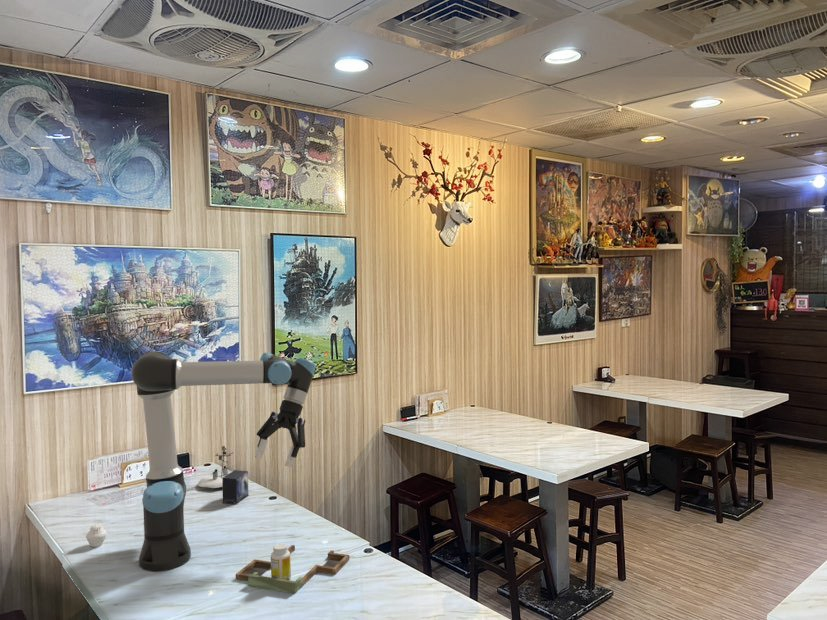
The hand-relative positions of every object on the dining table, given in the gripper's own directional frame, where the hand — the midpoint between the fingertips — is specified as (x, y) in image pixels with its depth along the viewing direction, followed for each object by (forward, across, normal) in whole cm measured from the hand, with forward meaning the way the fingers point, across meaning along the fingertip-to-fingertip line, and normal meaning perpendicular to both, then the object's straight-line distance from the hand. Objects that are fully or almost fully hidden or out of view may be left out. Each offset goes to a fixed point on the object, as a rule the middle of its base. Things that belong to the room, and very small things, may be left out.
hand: (272, 462), depth 208 cm
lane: (+28, -24, +2) cm, 37 cm away
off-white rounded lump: (+41, +46, +17) cm, 64 cm away
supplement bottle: (+31, -25, +9) cm, 41 cm away
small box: (+18, +38, -31) cm, 52 cm away
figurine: (+14, +58, -41) cm, 73 cm away
